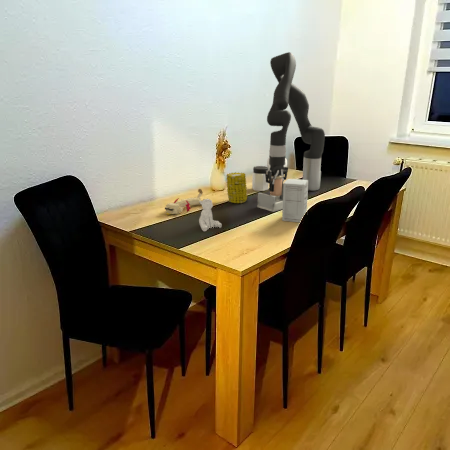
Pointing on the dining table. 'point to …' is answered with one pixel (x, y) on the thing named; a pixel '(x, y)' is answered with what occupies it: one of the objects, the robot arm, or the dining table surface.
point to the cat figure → (183, 204)
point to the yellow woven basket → (236, 187)
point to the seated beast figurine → (207, 216)
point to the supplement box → (294, 199)
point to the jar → (259, 178)
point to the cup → (269, 165)
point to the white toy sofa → (269, 202)
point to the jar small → (277, 186)
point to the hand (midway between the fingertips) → (275, 190)
